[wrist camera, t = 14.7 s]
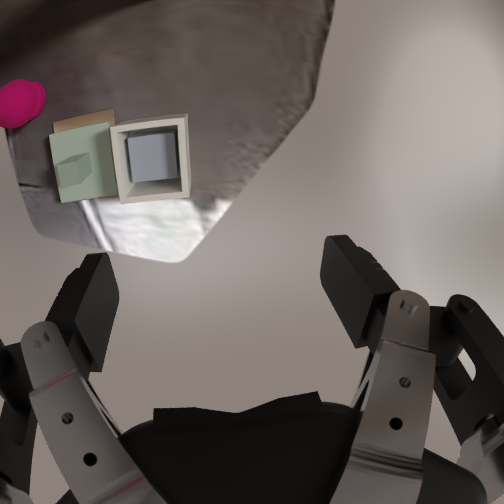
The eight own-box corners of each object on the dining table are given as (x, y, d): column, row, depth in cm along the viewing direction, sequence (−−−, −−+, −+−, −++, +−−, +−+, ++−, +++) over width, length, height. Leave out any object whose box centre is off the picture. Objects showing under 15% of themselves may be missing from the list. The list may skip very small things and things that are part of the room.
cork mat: (54, 122, 33) (53, 122, 32) (113, 108, 34) (112, 109, 34) (67, 201, 40) (66, 202, 39) (123, 193, 41) (123, 194, 41)
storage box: (124, 120, 35) (110, 127, 29) (187, 113, 37) (184, 117, 31) (132, 186, 41) (120, 204, 35) (191, 180, 42) (189, 197, 36)
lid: (55, 132, 33) (32, 142, 27) (112, 120, 35) (95, 126, 29) (66, 197, 39) (47, 216, 33) (121, 189, 40) (108, 208, 34)
